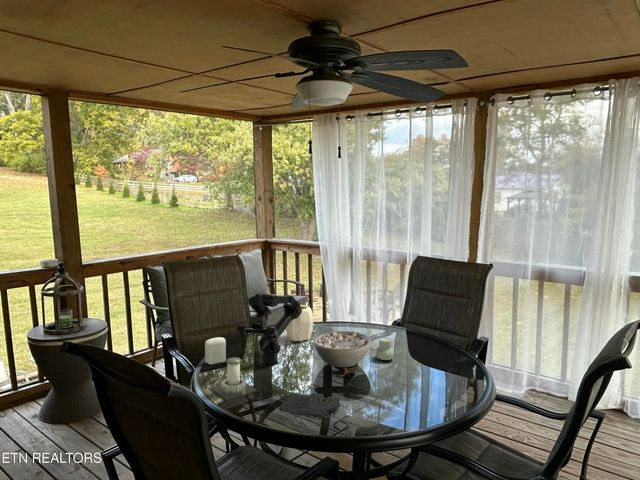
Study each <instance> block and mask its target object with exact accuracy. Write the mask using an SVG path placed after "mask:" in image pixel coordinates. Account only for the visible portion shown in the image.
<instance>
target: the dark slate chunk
mask: <svg viewBox="0 0 640 480" xmlns="http://www.w3.org/2000/svg"><path fill="white" fill-rule="evenodd" d="M325 401H326V402H325ZM339 401H340V398H339V397H334V396H328V397H324V395H323V394H318V393H315V392H313V393H311V394H310V395H309V394H304V393H303V394H302V393H299V392H295V391H293V392H291V393H290V394H289V395H288V396H287V397H286V398H285V399H284V400H283V401H282V404H281V405H280V407H279V411H280V412H284V413H289V412H290V413H289V414H295V415H298V416H302V415H309V416H313V417H318V418H327V417H329V416H330V415H331V414H332V413H335V412H337V410H338V408H339V407H340V408H341V404H340V403H339ZM340 408H339V409H340ZM338 411H339V410H338ZM337 413H338V412H337ZM313 417H312V418H313ZM318 418H317V419H318Z"/></svg>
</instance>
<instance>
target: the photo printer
mask: <svg viewBox="0 0 640 480" xmlns="http://www.w3.org/2000/svg"><path fill="white" fill-rule="evenodd" d="M226 347H227V342H226V338H224V337H220V336H218V337H213V338H210V339H207V340H205V342H204V363H205V362H206V363H208V364H210V365H215V364H221V363H224V362H226V360H227V354H226V353H227V349H226Z"/></svg>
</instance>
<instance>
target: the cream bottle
mask: <svg viewBox="0 0 640 480" xmlns="http://www.w3.org/2000/svg"><path fill="white" fill-rule="evenodd" d="M241 361H242V360H241V358H240V357H229V358H226V361H225V362H226V364H227V379H228V385H230V386H235V385H239V384H240V378H241V370H240V369H241V367H240V366H241Z"/></svg>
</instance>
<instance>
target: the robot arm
mask: <svg viewBox="0 0 640 480" xmlns="http://www.w3.org/2000/svg"><path fill="white" fill-rule="evenodd" d="M247 304H248V305H249V307H250V308H251V309H252V310H253V312H254V313H256V314H255V315H254V316H249V317H248V322H247V324H248V325H249V326H250V327H248V326H247V325H246V324H238V325H237V326H236V329H235V330H236V332H237V333H238V335H240V337H241V348H242V349H244V347H245V346H246V343H247V341H248V338H249V336H248V335H249V334H257V335H258V334H260V335H261V336H260V337H261V338H260V339H259V341H258V346H259V349H260V352H263V353H262V361H261V364H263V365H265V366H266V367H273V366H276V365H280V362H279V361H278V359H279V358H278V354H279V353H280V352H281V349H282V348H281V345H280V344H279V338H280V337H281V336H282V334H283V333H284V332H285V331H286V327H287V326H288V325H289V323H290V322H291V321H292V320H294V319H296V318H298V317H299V316H300V314H301V313H302V308H301V306H300V305H301V304H300V302H298V301H297V300H296V298H295V297H294V295H290V294H284V295H276V294H269V293H263V294H262V295H261V294H258V293H255V295H254V296H253V295H252V296H251V297H250V298H248V302H247ZM282 304H283V306H282V309H283V315H282V316H281V318H280V320H278V322H277V323H276V324H275V325H274V326H273V327H270V326H268V327H266V326H267V325H268V319H269V316H270V315H272V311H271V308H275V307H277V306H279V305H282ZM269 307H270V308H269Z"/></svg>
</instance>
